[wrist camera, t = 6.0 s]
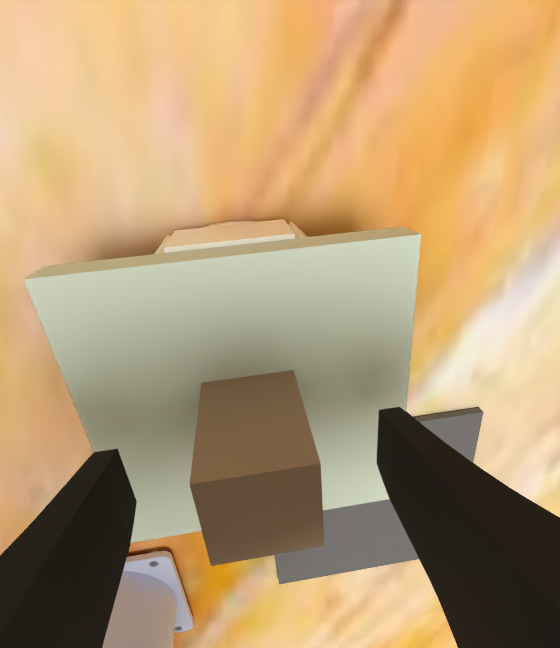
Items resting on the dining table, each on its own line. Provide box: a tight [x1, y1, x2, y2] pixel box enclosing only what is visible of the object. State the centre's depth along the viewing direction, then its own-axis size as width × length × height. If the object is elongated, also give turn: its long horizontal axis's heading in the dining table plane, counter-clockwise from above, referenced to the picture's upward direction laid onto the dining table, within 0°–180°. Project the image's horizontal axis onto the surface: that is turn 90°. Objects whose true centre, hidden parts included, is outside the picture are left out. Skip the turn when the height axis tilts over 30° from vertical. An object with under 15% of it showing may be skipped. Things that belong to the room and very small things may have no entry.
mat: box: [275, 407, 483, 584], centre depth 22 cm, size 12×12×1 cm
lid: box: [24, 226, 421, 566], centre depth 11 cm, size 11×11×5 cm
